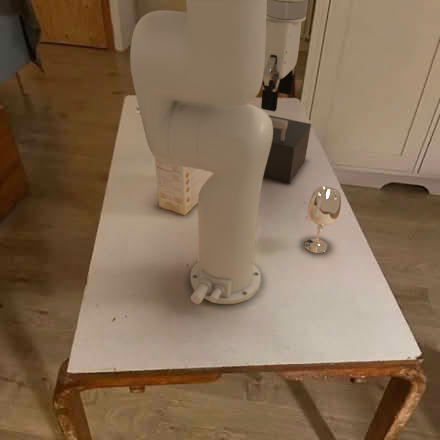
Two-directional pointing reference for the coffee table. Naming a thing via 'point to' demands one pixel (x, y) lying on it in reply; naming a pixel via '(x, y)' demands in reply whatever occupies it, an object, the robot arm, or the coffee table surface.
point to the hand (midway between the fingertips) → (276, 101)
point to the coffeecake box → (179, 186)
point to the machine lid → (287, 132)
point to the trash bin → (286, 161)
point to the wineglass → (322, 214)
